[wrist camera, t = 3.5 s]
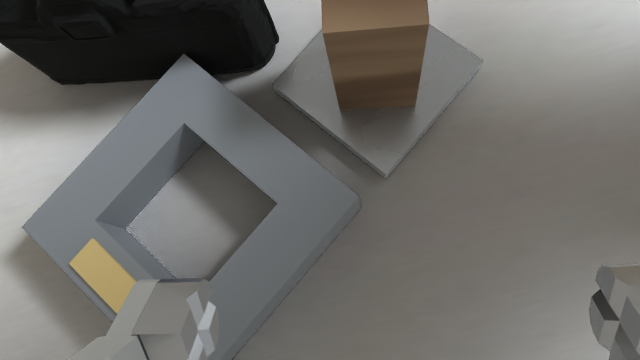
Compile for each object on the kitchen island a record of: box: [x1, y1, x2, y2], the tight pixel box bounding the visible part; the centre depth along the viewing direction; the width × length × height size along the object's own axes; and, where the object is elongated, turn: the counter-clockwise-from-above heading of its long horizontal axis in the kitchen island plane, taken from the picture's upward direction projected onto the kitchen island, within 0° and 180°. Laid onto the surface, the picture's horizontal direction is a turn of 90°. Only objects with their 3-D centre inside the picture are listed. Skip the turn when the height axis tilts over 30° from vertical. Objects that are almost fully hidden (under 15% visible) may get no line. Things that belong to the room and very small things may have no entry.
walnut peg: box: [321, 0, 429, 110], centre depth 23 cm, size 4×4×8 cm
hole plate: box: [22, 54, 362, 360], centre depth 26 cm, size 12×12×3 cm
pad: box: [273, 24, 483, 179], centre depth 28 cm, size 8×8×1 cm
